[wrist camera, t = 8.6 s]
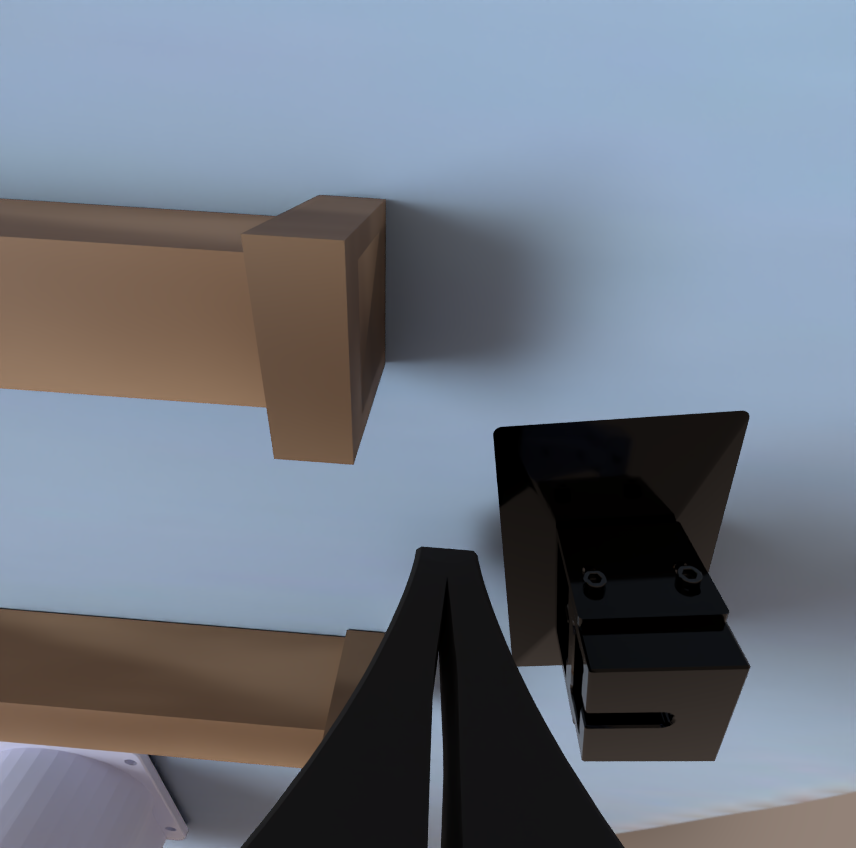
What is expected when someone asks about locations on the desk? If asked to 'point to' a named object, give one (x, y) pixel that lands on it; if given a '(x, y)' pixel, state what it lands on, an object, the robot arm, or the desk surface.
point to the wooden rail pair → (203, 383)
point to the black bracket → (625, 576)
